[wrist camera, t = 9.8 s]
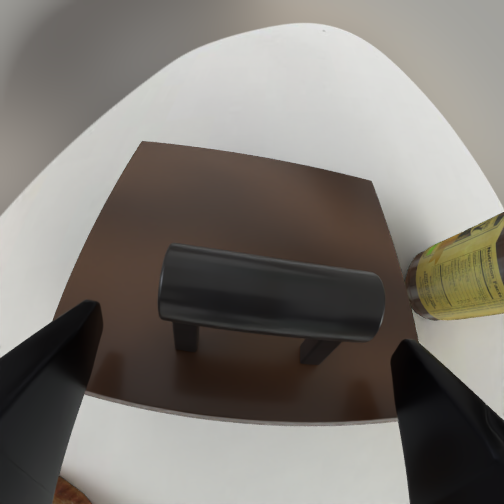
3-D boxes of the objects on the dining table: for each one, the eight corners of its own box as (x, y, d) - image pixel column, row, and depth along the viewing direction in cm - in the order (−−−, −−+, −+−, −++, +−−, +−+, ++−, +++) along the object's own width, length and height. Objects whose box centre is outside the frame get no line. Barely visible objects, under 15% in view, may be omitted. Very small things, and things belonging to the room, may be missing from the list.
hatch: (418, 418, 10) (515, 369, 6) (44, 381, 8) (-36, 307, 4) (366, 190, 18) (399, 122, 15) (142, 152, 17) (141, 72, 13)
